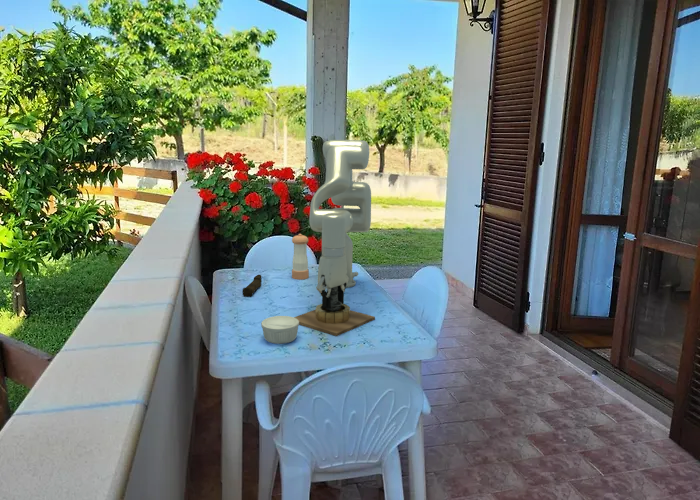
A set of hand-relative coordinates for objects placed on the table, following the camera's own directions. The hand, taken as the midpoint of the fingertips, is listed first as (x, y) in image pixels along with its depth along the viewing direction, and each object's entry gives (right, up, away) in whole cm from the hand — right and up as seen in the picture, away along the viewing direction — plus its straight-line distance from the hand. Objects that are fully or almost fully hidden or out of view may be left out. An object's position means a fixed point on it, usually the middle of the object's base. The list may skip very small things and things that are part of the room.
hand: (332, 304), depth 170 cm
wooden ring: (0, -5, +1) cm, 5 cm away
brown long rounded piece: (-33, +2, +34) cm, 47 cm away
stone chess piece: (0, -3, +1) cm, 3 cm away
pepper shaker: (-16, +6, +54) cm, 57 cm away
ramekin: (-15, -9, -15) cm, 23 cm away
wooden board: (0, -5, +1) cm, 5 cm away
